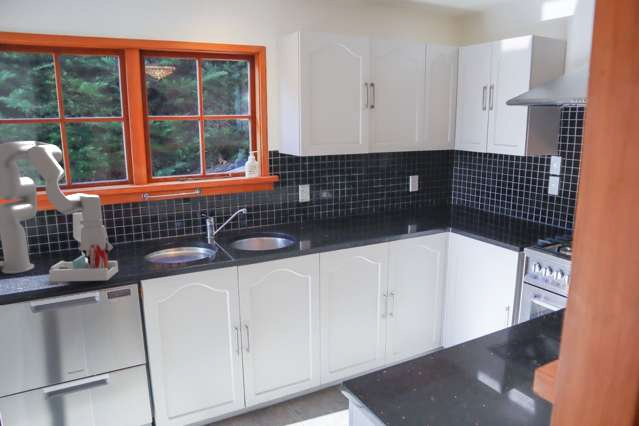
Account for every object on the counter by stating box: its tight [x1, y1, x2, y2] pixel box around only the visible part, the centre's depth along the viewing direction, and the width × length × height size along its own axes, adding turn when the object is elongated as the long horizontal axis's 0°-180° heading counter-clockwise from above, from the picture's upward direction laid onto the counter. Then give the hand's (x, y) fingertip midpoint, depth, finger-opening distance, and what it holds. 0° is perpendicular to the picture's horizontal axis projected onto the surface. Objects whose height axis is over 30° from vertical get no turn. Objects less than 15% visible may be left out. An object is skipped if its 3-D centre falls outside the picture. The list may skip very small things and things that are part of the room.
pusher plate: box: [71, 255, 86, 269], centre depth 204 cm, size 2×8×7 cm, turn 2°
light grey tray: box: [48, 260, 119, 283], centre depth 204 cm, size 24×12×6 cm, turn 92°
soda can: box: [89, 244, 109, 268], centre depth 203 cm, size 7×7×13 cm
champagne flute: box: [72, 211, 88, 262], centre depth 225 cm, size 7×7×24 cm
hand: (97, 263), depth 204 cm, fingers closed on soda can, 4 cm apart
